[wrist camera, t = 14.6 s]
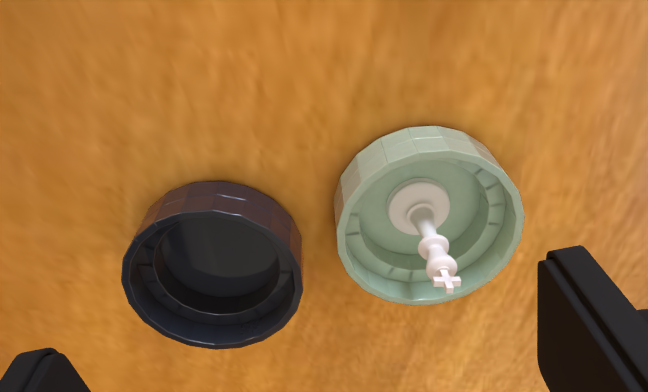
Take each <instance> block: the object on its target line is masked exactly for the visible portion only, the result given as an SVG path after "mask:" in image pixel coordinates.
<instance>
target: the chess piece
mask: <svg viewBox="0 0 648 392" xmlns="http://www.w3.org/2000/svg"><path fill="white" fill-rule="evenodd" d="M449 210H450V200H449V196H448V193H447V191H446V189H445V188H444V187H443V186H442V185H441V184H440V183H439V182H437V181H435V180H433V179H429V178H413V179H409V180H407V181H404V182H403V183H401V184H399V185H398V186H397V187H396V188H395V189H394V190H393V191H392V192H391V194H390V195H389V197H388V200H387V204H386V212H387V215H388V218H389V219H390V221H391V223H392V224H393V226H394V227H395V228H396V229H398V230H399V231H401V232H403V233H406V234H410V235H420V236H421V238H422V240H421V241H420V243H419V245H418V252H419V254H420V256H421V257H422V258H424V259H425V260H427V264H426V273H427V276H428V277H429V278H430V279H431V280H432V284H433V287H444V290H445V292H446V293H453V290H454V287H456V286H460V285H461V279H460V277H459V276H458V277H453V276H454V275H455V274H456V272H457V263H456V262H455V260H454V259H453V258H452V257H451V256H449V255H448V254H447V253H448V250H449V242H448V240H447V239H446V238H445V237H444V236H442V235H438V234H437V233H436V229H437V228H438V227H439V226H440V225H441V224H442V223H443V222H444V221H445V220H446V218H447V216H448V214H449Z"/></svg>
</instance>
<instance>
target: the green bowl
mask: <svg viewBox="0 0 648 392" xmlns="http://www.w3.org/2000/svg"><path fill="white" fill-rule="evenodd" d="M413 178H429V179H433V180H435V181H437V182H439V183H440V184H441V185H442V186H443V187H444V188H445V189H446V191H447V193H448V196H449V200H450V210H449V214H448V216H447V218H446V220H445V221H444V222H443V223H442V224H441V225H440V226H439V227H438V228H437V229H436V233H437V234H438V235H442V236H444V237H445V238H446V239H447V240H448V242H449V250H448V253H447V254H448V255H449V256H451V257H452V258H453V259H454V260H455V262H456V263H457V272H456V274H455V275H454V276H453V277H458V276H459V277H460V279H461V285H460V286H456V287H454V290H453V293H446V292H445V290H444V287H433V284H432V280H431V279H430V278H429V277H428V276H427V273H426V264H427V260H425V259H424V258H422V257H421V256H420V254H419V252H418V245H419V243H420V241H421V240H422V238H421V236H420V235H410V234H406V233H403V232H401V231H399V230H398V229H396V228H395V227H394V226H393V224H392V223H391V221H390V219H389V218H388V215H387V212H386V204H387V200H388V197H389V195H390V194H391V192H392V191H393V190H394V189H395V188H396V187H397V186H398V185H399V184H401V183H403V182H404V181H407V180H409V179H413ZM333 202H334V219H335V230H336V241H337V251H338V255H339V257H340V259H341V261H342V263H343V265H344V268H345V270H346V272H347V274H348V275H349V276H350V277H351V278H352V279H353V280H354V281H355V282H356V283H357V284H358V285H359V286H360V287H362V288H363V289H364V290H365V291H367V292H369V293H371V294H373V295H375V296H377V297H379V298H381V299H383V300H385V301H388V302H394V303H399V304H405V305H411V306H412V305H413V306H417V305H432V304H441V303H444V302H447V301H451V300H454V299H457V298H460V297H464V296H465V295H468V294H470V293H471V292H473V291H475V290H476V289H478V288H480V287H481V286H483V285H485V284H487V283H488V282H490V281H491V280H492V279H493V278H494V277H495V276H496V275H497V274H498V273H499V272H500V271H501V270H502V269H503V268H504V267H505V266H506V265H507V264H508V263H509V261H510V259H511V257H512V255H513V253H514V252H515V250H516V248H517V246H518V244H519V243H520V241H521V236H522V230H523V224H524V218H525V215H524V210H523V206H522V201H521V197H520V193H519V191H518V189H517V188H516V187H515V185H514V184H513V182H512V181H511V180H510V178H509V177H508V176H507V174H506V173H505V171H504V170H503V169H502V167H501V166H500V165H499V163H498V162H497V161H496V159H495V158H494V157H493V155H492V154H491V153H490V152H489V150H488V149H487V148H486V146H485V145H483V144H482V143H480V142H479V141H477V140H475V139H474V138H472V137H471V136H469V135H468V134H466V133H465V132H462V131H458V130H454V129H450V128H446V127H441V126H422V127H408V128H404V129H402V130H399V131H396V132H394V133H391V134H388V135H386V136H383V137H380V138H378V139H377V140H375V141H374V142H373V143H371V144H370V145H369V146H367V147H366V148H365V149H363V150H362V151H361V152H359V153H358V154H357V155H356V156H355V157H354V159H353V160H352V161H351V163H350V164H349V165H348V167H347V168H346V169H345V171H344V172H343V174H342V175H341V177H340V180H339V183H338V186H337V189H336V193H335V196H334V200H333Z"/></svg>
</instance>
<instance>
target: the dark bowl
mask: <svg viewBox="0 0 648 392" xmlns="http://www.w3.org/2000/svg"><path fill="white" fill-rule="evenodd" d="M121 281H122V285H123V288H124V291H125V294H126V297H127V299H128V302H129V304H130V305H131V307H132V308H133V309H134V310H135V312H136V313H137V314H138V315H139V317H140V318H141V319H142V320H143V321H144V322H145V323H146V324H148V325H149V326H151V327H152V328H154V329H155V330H156V331H158V332H159V333H161V334H162V335H164V336H166V337H168V338H171V339H173V340H176V341H178V342H181V343H183V344H186V345H189V346H195V347H202V348H208V349H230V348H241V347H245V346H248V345H251V344H254V343H257V342H260V341H263V340H265V339H267V338H268V337H270V336H271V335H273V334H274V333H276V332H277V331H279V330H281V329H282V328H283V327H284V326H285V325H286V324H287V322H288V321H289V320H290V319H291V317H292V316H293V315H294V314H295V312H296V311H297V309H298V306H299V303H300V299H301V296H302V293H303V249H302V239H301V235H300V233H299V231H298V229H297V227H296V225H295V223H294V221H293V220H292V218H291V216H290V215H289V214H288V213H287V212H286V211H285V210H284V209H283V208H282V207H281V206H280V205H279V204H277V203H276V202H275V201H274V200H273V199H272V198H270V197H268V196H266V195H264V194H262V193H260V192H258V191H256V190H254V189H252V188H250V187H248V186H244V185H239V184H234V183H230V182H225V181H211V182H197V183H191V184H188V185H185V186H183V187H180V188H177V189H175V190H172V191H170V192H168V193H166V194H165V195H164V196H163V197H162V198H160V199H159V200H158V201H157V202H156V203H154V204H153V205H152V206H151V207H150V208H149V210H148V211H147V213H146V215H145V217H144V219H143V221H142V222H141V224H140V226H139V228H138V230H137V232H136V234H135V236H134V238H133V240H132V242H131V244H130V246H129V248H128V250H127V251H126V253H125V255H124V257H123V262H122V276H121Z"/></svg>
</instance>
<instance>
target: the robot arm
mask: <svg viewBox="0 0 648 392" xmlns="http://www.w3.org/2000/svg"><path fill="white" fill-rule="evenodd" d="M537 358H538V365H539V368H540V372H541V374H542V377H543V379H544V381H545V383H546V385H547V387H548V389H549V391H550V392H648V309H641V310H636V309H635V308H634V307H633V305H632V304H631V303H630V302H629V301H628V299H627V298H626V297H625V296H624V295H623V293H622V292H621V291H620V290H619V288H618V287H617V286H616V285H615V284H614V282H613V281H612V280H611V279H610V278H609V276H608V275H607V274H606V273H605V271H604V270H603V269H602V268H601V267H600V265H599V264H598V263H597V262H596V261H595V259H594V258H593V257H592V256H591V254H590V253H589V252H588V251H587V250H586V249H585V248H584V247H583V246H580V245H579V246H573V247H568V248H563V249H558V250H553V251H549V252H548V253H547V256H546V260H543V261H539V263H538V331H537ZM0 392H91V391H90V390H89V388H88V387H87V385H86V384H85V383H84V381H83V380H82V378H81V377H80V376H79V374H78V373H77V371H76V370H75V368H74V367H73V366H72V364H71V363H70V361H69V360H68V358H67V357H66V356H65V355H64V354H62V353H58V352H57V351H56V350H55V349H53V348H44V349H39V350H34V351H29V352H24V353H21V354H19V355H17V356H16V358H15V359H14V360H13V361H12V363H11V365H10V366H9V368H8V369H7V371H6V372H5V374H4V376H3V377H2V379H1V380H0Z"/></svg>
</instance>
